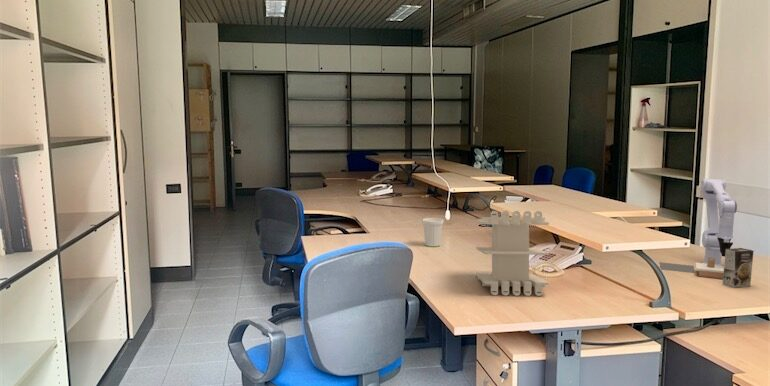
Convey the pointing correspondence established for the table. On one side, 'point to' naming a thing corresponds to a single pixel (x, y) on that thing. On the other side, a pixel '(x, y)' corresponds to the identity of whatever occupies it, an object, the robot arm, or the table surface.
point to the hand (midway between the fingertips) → (723, 254)
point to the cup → (432, 231)
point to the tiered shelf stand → (512, 253)
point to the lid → (710, 266)
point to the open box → (710, 274)
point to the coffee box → (738, 267)
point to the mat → (677, 267)
